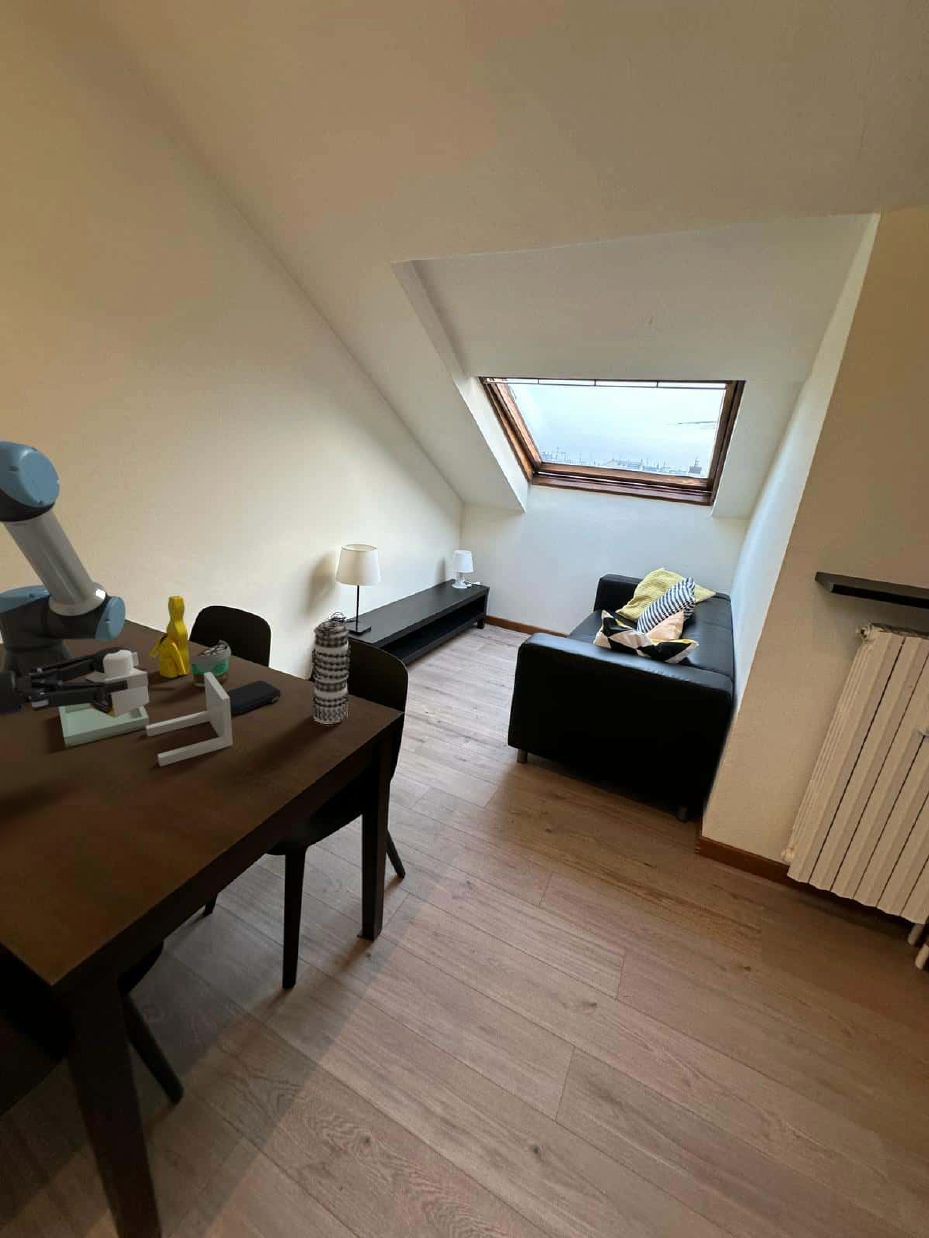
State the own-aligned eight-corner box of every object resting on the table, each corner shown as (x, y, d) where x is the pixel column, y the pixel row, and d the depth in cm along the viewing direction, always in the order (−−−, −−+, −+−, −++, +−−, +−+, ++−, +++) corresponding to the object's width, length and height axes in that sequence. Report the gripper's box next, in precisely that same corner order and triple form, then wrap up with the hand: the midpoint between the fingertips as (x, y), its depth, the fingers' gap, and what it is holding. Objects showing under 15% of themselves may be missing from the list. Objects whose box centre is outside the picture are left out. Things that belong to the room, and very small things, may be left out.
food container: (212, 695, 127) (209, 660, 124) (191, 690, 128) (188, 656, 125) (242, 675, 138) (240, 643, 135) (222, 671, 139) (220, 639, 136)
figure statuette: (143, 667, 137) (134, 593, 129) (172, 659, 143) (164, 587, 136) (178, 688, 128) (170, 610, 121) (207, 678, 134) (201, 603, 127)
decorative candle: (356, 718, 124) (359, 626, 115) (324, 730, 117) (324, 634, 109) (336, 703, 129) (338, 615, 121) (304, 714, 123) (304, 622, 115)
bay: (146, 733, 109) (140, 685, 105) (214, 716, 118) (210, 671, 114) (160, 766, 99) (153, 715, 95) (232, 745, 108) (229, 697, 104)
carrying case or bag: (234, 721, 117) (287, 700, 129) (233, 710, 116) (286, 690, 128) (210, 705, 123) (262, 686, 134) (209, 695, 122) (262, 676, 133)
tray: (60, 714, 112) (58, 705, 111) (137, 698, 122) (136, 689, 121) (65, 747, 102) (63, 737, 101) (149, 726, 111) (148, 717, 110)
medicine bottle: (89, 708, 95) (79, 652, 91) (126, 693, 101) (118, 640, 97) (114, 719, 93) (105, 662, 89) (150, 702, 99) (142, 649, 95)
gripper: (-6, 688, 92) (134, 663, 106) (-9, 747, 77) (155, 709, 91) (-16, 652, 89) (130, 632, 104) (-20, 706, 74) (151, 673, 89)
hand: (142, 668), depth 97 cm, fingers closed on medicine bottle, 9 cm apart
